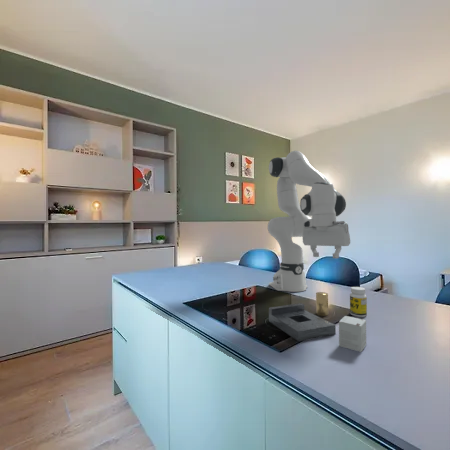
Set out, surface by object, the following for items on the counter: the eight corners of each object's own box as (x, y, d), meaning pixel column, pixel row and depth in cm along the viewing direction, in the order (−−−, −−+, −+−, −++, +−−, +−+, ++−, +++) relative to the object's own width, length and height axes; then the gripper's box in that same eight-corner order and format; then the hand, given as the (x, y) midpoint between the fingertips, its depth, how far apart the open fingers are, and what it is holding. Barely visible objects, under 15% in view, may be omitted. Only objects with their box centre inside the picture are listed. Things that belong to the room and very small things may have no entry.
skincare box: (344, 339, 82) (344, 315, 82) (366, 344, 78) (366, 319, 78) (338, 346, 77) (338, 321, 77) (361, 352, 73) (361, 325, 73)
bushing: (314, 312, 106) (313, 292, 106) (323, 311, 107) (322, 291, 107) (321, 316, 102) (321, 295, 102) (330, 314, 103) (330, 294, 103)
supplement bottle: (346, 313, 105) (346, 287, 105) (357, 311, 107) (357, 285, 107) (358, 318, 99) (358, 290, 99) (370, 316, 101) (370, 289, 101)
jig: (269, 321, 98) (268, 307, 98) (301, 316, 102) (301, 303, 102) (298, 341, 81) (298, 325, 81) (335, 334, 85) (335, 318, 85)
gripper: (353, 220, 98) (354, 258, 97) (310, 223, 116) (311, 255, 115) (342, 220, 95) (343, 259, 94) (299, 223, 113) (300, 256, 112)
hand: (325, 257), depth 105 cm, fingers open, 8 cm apart
